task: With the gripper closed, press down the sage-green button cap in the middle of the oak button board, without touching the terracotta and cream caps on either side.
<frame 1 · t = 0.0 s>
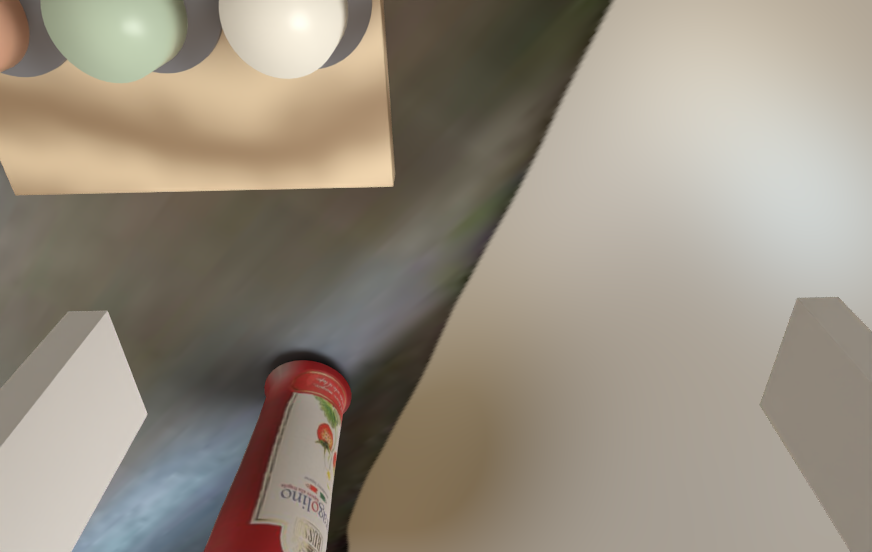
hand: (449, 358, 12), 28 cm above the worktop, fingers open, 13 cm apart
cream button: (286, 12, 29), point 7 cm above the worktop, slide at 0.0 cm
sage button: (118, 16, 29), point 6 cm above the worktop, slide at 0.0 cm
liquor: (311, 380, 50), on the worktop
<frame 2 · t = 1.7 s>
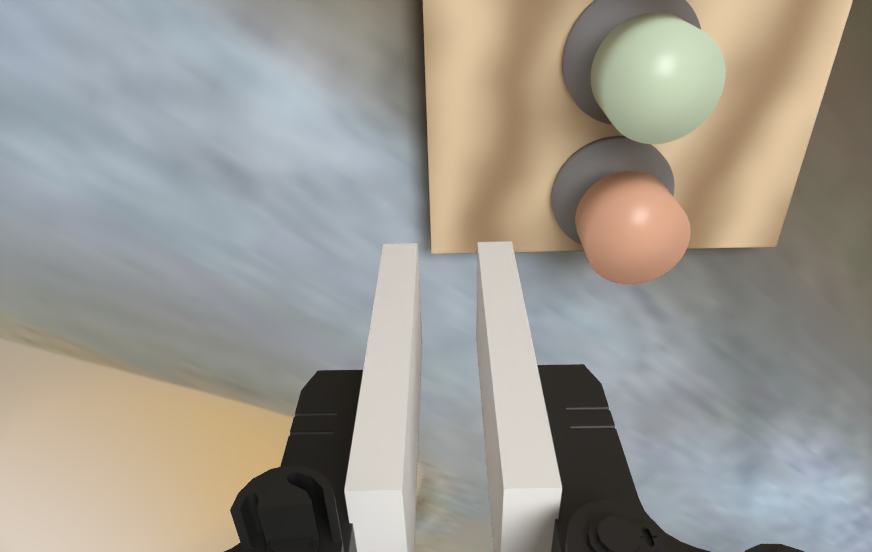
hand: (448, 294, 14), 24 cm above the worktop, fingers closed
sage button: (654, 78, 29), point 6 cm above the worktop, slide at 0.0 cm
terracotta button: (630, 227, 33), point 6 cm above the worktop, slide at 0.0 cm
button board: (620, 48, 35), on the worktop
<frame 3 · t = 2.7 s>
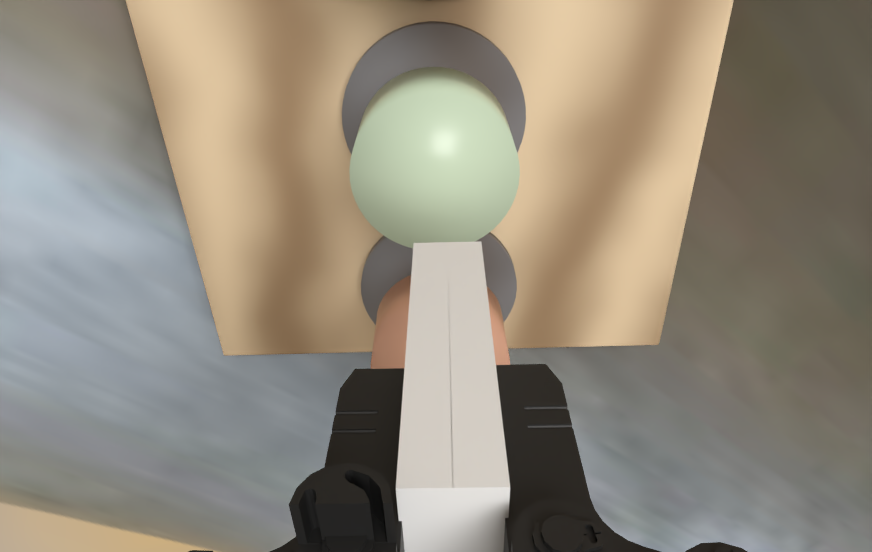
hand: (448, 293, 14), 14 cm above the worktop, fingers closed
sage button: (434, 159, 21), point 7 cm above the worktop, slide at 0.0 cm
terracotta button: (439, 344, 25), point 6 cm above the worktop, slide at 0.0 cm
button board: (433, 102, 26), on the worktop
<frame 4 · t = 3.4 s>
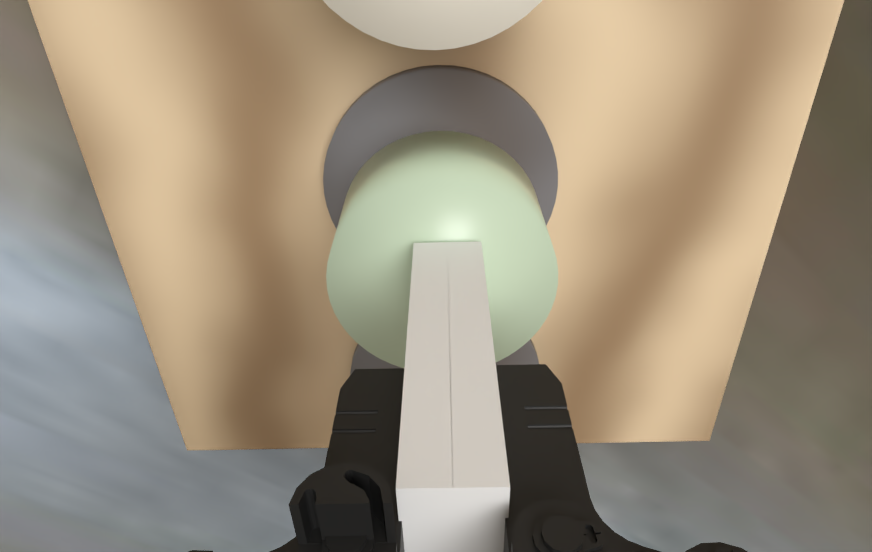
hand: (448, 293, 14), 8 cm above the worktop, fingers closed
sage button: (441, 253, 16), point 6 cm above the worktop, slide at 0.0 cm, touching gripper
button board: (440, 158, 21), on the worktop
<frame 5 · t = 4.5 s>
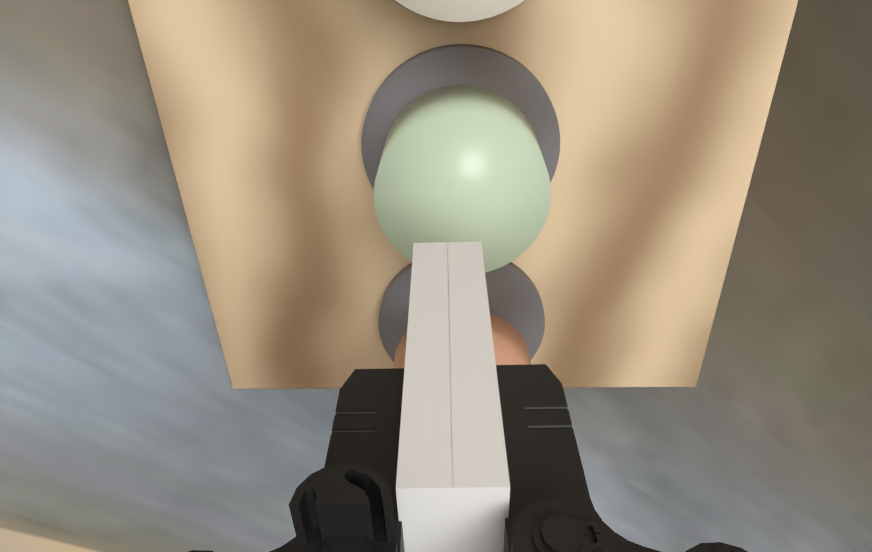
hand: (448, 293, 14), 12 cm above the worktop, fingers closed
sage button: (461, 181, 20), point 5 cm above the worktop, slide at 1.2 cm
terracotta button: (462, 389, 23), point 6 cm above the worktop, slide at 0.0 cm
button board: (459, 127, 24), on the worktop
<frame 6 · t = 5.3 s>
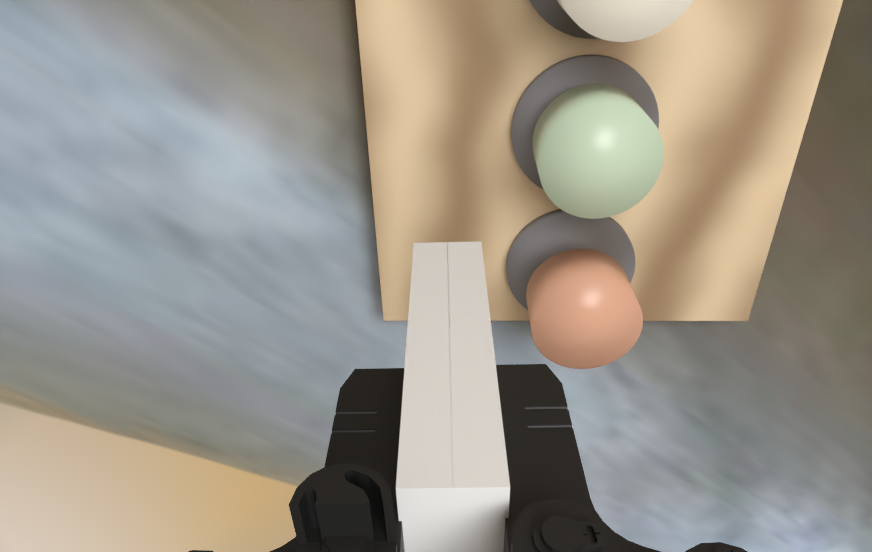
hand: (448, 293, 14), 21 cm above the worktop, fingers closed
sage button: (594, 151, 28), point 5 cm above the worktop, slide at 1.2 cm
terracotta button: (581, 309, 31), point 6 cm above the worktop, slide at 0.0 cm
button board: (576, 116, 33), on the worktop
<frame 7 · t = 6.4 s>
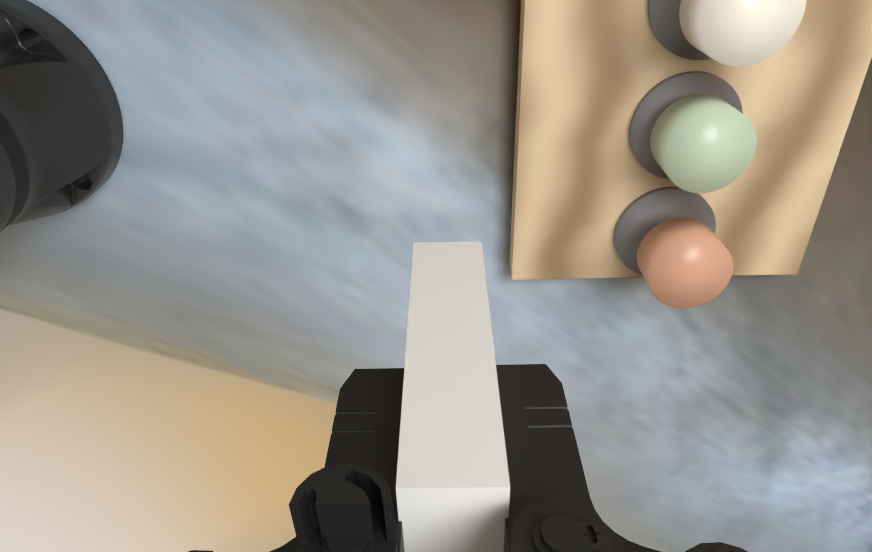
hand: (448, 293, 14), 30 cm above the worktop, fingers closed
cream button: (739, 8, 33), point 6 cm above the worktop, slide at 0.0 cm
sage button: (701, 143, 38), point 5 cm above the worktop, slide at 1.2 cm
terracotta button: (683, 262, 41), point 6 cm above the worktop, slide at 0.0 cm
button board: (673, 116, 43), on the worktop
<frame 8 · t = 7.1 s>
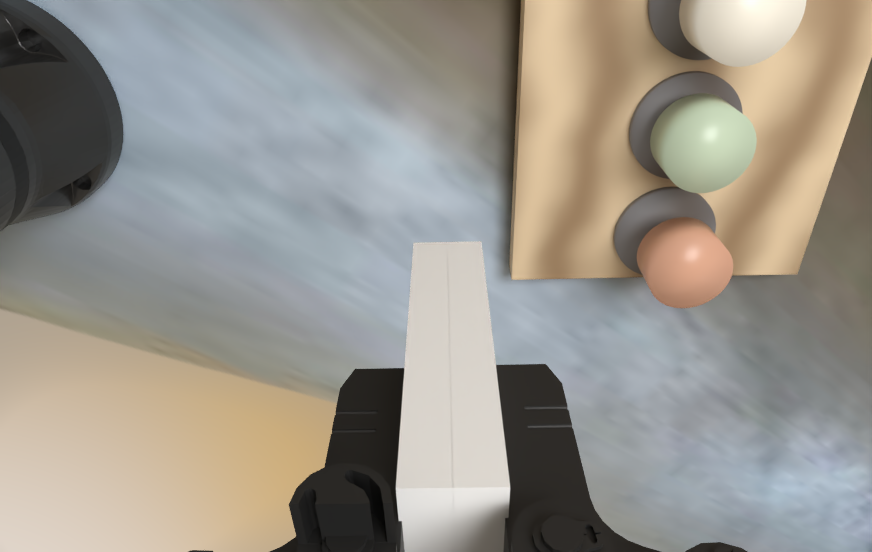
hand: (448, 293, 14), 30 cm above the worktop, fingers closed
cream button: (739, 8, 33), point 6 cm above the worktop, slide at 0.0 cm
sage button: (701, 143, 38), point 5 cm above the worktop, slide at 1.2 cm
terracotta button: (683, 262, 41), point 6 cm above the worktop, slide at 0.0 cm
button board: (673, 116, 43), on the worktop
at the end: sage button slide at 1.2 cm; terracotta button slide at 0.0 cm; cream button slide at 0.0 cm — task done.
